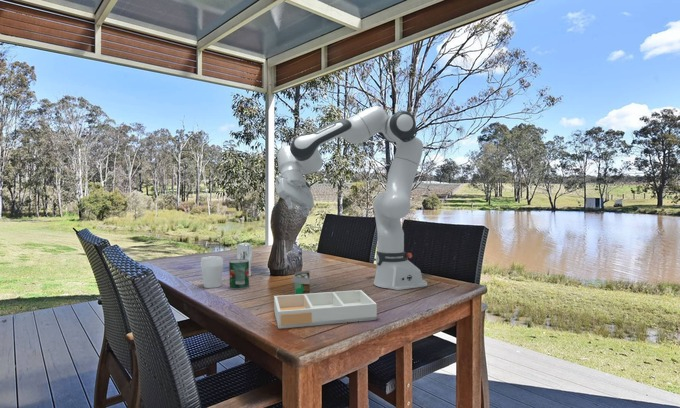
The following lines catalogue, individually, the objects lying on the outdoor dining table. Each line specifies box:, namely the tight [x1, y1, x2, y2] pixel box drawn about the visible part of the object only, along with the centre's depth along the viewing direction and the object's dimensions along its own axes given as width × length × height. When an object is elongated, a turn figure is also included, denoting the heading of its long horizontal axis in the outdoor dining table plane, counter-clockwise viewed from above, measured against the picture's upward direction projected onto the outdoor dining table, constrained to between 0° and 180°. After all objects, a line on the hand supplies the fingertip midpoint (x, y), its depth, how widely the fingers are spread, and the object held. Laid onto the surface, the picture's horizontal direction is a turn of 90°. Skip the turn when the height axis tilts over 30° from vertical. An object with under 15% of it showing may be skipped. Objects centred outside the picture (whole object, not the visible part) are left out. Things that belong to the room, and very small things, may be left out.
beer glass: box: [236, 242, 253, 278], centre depth 176 cm, size 7×7×15 cm
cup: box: [200, 255, 224, 289], centre depth 157 cm, size 9×9×12 cm
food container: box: [292, 270, 311, 295], centre depth 135 cm, size 12×6×10 cm, turn 5°
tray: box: [273, 289, 378, 330], centre depth 121 cm, size 30×17×5 cm, turn 104°
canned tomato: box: [228, 259, 250, 290], centre depth 156 cm, size 8×8×11 cm
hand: (298, 212), depth 144 cm, fingers open, 8 cm apart
